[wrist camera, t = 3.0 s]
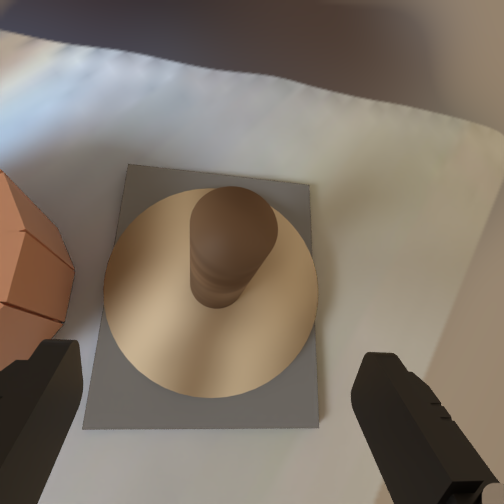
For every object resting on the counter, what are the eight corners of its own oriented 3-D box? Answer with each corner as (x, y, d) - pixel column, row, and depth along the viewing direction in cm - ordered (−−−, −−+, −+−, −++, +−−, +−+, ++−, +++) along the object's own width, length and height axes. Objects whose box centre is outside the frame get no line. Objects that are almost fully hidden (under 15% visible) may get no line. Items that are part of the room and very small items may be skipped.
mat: (85, 427, 16) (82, 429, 16) (130, 169, 21) (128, 164, 21) (315, 426, 18) (319, 428, 18) (306, 189, 23) (309, 184, 23)
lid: (87, 395, 16) (-16, 425, 8) (124, 184, 20) (80, 61, 12) (317, 397, 18) (422, 423, 10) (309, 204, 22) (379, 109, 14)
